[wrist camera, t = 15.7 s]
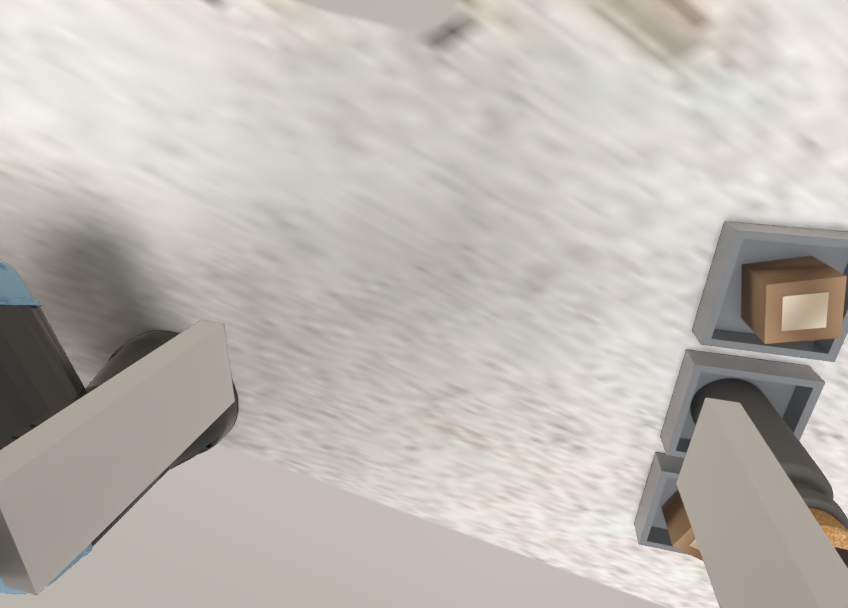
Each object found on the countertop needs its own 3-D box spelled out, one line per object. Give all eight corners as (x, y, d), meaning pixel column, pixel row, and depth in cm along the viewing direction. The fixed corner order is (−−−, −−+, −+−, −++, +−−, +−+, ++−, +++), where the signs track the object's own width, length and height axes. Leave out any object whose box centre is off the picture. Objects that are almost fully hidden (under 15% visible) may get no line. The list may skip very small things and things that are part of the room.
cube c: (661, 507, 46) (672, 546, 42) (689, 476, 44) (704, 515, 40) (703, 527, 46) (719, 569, 42) (734, 498, 44) (754, 539, 40)
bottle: (768, 431, 41) (876, 594, 27) (692, 437, 43) (759, 592, 29) (765, 373, 39) (880, 516, 26) (686, 381, 41) (755, 519, 27)
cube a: (740, 317, 38) (765, 344, 34) (741, 264, 36) (767, 285, 32) (807, 311, 36) (841, 338, 32) (811, 255, 35) (847, 276, 31)
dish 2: (692, 330, 40) (700, 344, 37) (724, 221, 36) (736, 229, 34) (817, 346, 38) (834, 361, 36) (864, 233, 34) (887, 243, 32)
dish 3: (660, 436, 44) (666, 454, 42) (686, 349, 40) (694, 364, 38) (770, 455, 42) (783, 475, 40) (808, 365, 39) (825, 382, 36)
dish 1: (634, 523, 48) (638, 544, 46) (655, 452, 45) (661, 470, 42) (733, 543, 47) (743, 565, 44) (764, 471, 43) (776, 491, 41)
